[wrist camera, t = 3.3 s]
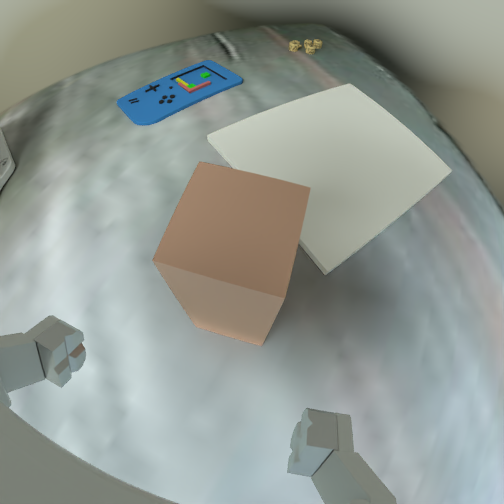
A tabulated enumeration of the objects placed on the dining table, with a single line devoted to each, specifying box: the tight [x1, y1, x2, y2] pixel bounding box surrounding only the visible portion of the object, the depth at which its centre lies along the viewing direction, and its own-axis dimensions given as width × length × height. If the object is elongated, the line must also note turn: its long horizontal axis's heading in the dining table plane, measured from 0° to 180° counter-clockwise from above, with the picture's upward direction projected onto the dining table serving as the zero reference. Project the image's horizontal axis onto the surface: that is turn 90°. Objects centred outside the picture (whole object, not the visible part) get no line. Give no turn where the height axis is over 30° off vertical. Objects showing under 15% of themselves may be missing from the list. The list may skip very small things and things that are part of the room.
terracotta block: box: [152, 161, 311, 346], centre depth 17 cm, size 5×5×12 cm
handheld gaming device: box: [117, 60, 243, 125], centre depth 34 cm, size 8×1×15 cm
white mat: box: [207, 83, 452, 275], centre depth 29 cm, size 18×22×1 cm
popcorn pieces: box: [289, 39, 322, 54], centre depth 41 cm, size 5×5×2 cm
